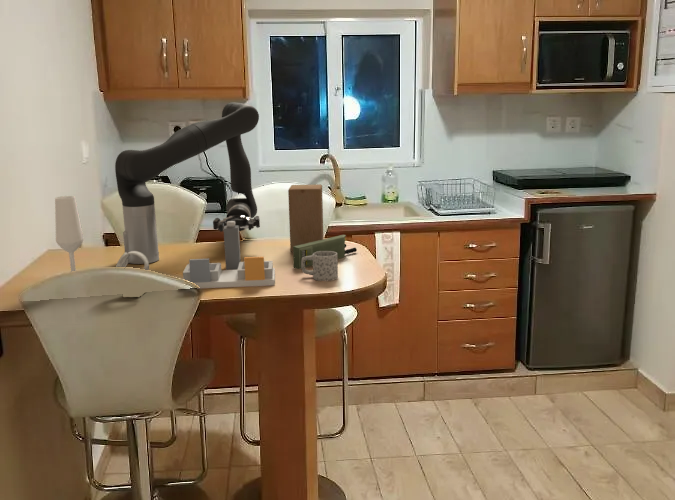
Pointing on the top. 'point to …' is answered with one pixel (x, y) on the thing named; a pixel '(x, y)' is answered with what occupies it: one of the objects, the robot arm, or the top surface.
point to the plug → (232, 245)
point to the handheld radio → (320, 249)
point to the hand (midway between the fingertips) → (235, 227)
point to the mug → (322, 265)
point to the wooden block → (305, 214)
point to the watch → (126, 257)
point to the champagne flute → (68, 226)
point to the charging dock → (230, 273)
